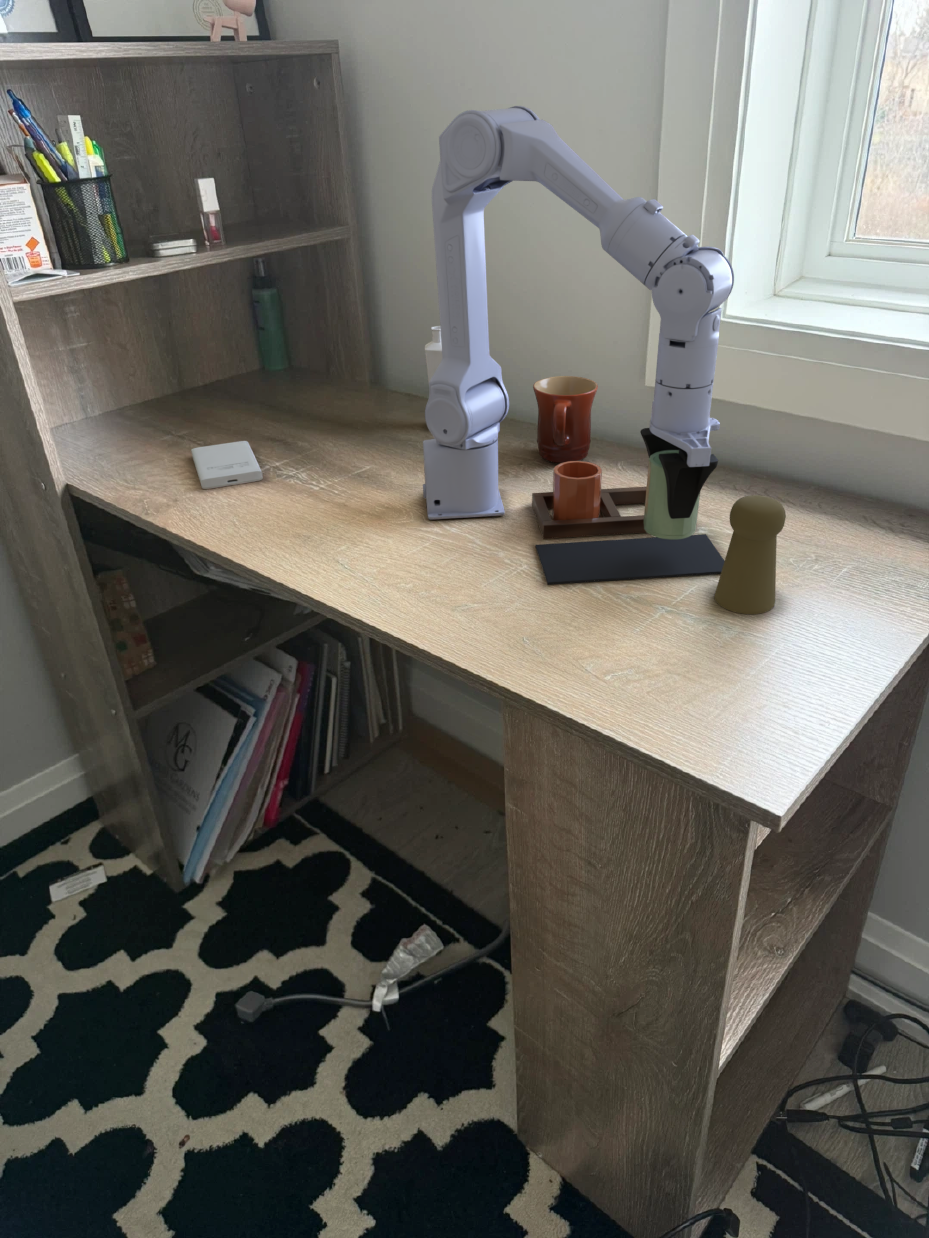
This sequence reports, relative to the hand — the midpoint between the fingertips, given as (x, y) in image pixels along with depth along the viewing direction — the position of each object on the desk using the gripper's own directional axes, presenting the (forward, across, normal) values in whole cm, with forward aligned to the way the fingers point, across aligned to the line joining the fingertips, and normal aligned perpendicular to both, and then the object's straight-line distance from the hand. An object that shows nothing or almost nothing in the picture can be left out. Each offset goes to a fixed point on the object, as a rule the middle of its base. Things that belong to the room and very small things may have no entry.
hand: (671, 505), depth 97 cm
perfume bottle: (+6, +47, +23) cm, 53 cm away
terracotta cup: (+6, +11, +8) cm, 15 cm away
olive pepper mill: (+7, -10, -5) cm, 13 cm away
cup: (+3, 0, 0) cm, 3 cm away
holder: (+6, +11, +4) cm, 13 cm away
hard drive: (+6, +34, +54) cm, 64 cm away
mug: (+7, +30, +7) cm, 31 cm away
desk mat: (+6, 0, +4) cm, 8 cm away
